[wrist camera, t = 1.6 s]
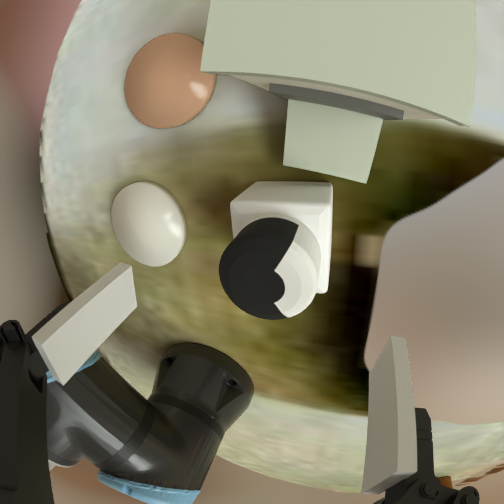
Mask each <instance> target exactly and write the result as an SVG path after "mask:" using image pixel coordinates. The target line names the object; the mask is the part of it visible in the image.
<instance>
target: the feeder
mask: <svg viewBox="0 0 504 504" xmlns="http://www.w3.org/2000/svg"><path fill="white" fill-rule="evenodd" d="M476 60H477V29H476V11H475V0H211V2H210V8H209V14H208V20H207V26H206V32H205V39H204V46H203V53H202V61H201V69H200V71H201V72H204V73H207V74H216V75H230V76H233V77H236V78H238V79H241V80H243V81H246V82H248V83H251V84H253V85H256V86H258V87H261V88H263V89H265V90H268V91H269V92H270V93H273V94H275V95H277V96H280V97H282V98H284V99H288V110H287V123H286V135H285V147H284V159H283V165H285V166H290V167H295V168H300V169H305V170H310V171H315V172H319V173H324V174H329V175H333V176H337V177H342V178H346V179H350V180H354V181H358V182H362V183H367V179H368V176H369V172H370V169H371V165H372V161H373V158H374V154H375V150H376V146H377V142H378V138H379V134H380V130H381V126H382V121H383V119H385V120H403V119H445V120H447V121H450V122H452V123H455V124H457V125H459V126H468V127H470V123H471V116H472V109H473V101H474V91H475V79H476Z"/></svg>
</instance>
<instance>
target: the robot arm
mask: <svg viewBox="0 0 504 504" xmlns="http://www.w3.org/2000/svg"><path fill="white" fill-rule="evenodd" d="M136 307H137V302H136V296H135V289H134V282H133V274H132V266H131V265H128V264H125V263H122V262H120V263H119V264H118V265H116V266H115V267H114V268H112V269H111V270H110V271H109V272H107V273H106V274H105V275H104V276H102V277H101V278H100V279H99V280H97V281H96V282H95V283H94V284H92V285H91V286H90V287H89V288H87V289H86V290H85V291H84V292H83V293H81V294H80V295H79V296H78V297H76V298H75V299H74V300H73V301H72V302H69V301H68V302H65V303H63V304H61V305H59V306H58V307H57V308H56V309H55V310H53V311H52V313H50V314H48V315H47V317H45V318H44V319H43V320H42V321H40V322H39V323H38V324H37V325H36V326H35V327H34V328H33V329H31V330H30V331H29V332H28V333H27V334H26V335H25V334H24V332H23V329H22V328H21V325H20V323H19V322H18V321H16V320H9V321H6V322H4V323H3V324H2V325H1V326H0V504H54V499H53V493H52V487H51V480H50V472H49V471H50V470H51V469H52V468H53V467H54V466H55V465H58V466H61V467H72V466H74V465H75V464H76V463H77V462H78V461H80V460H81V459H82V458H85V459H87V460H88V461H89V462H91V463H92V464H94V465H95V466H96V467H98V468H99V469H100V470H99V471H98V476H97V478H98V480H99V481H100V482H102V483H104V484H106V485H108V486H110V487H112V488H114V489H116V490H118V491H120V492H122V493H125V494H127V495H129V496H131V497H134V498H136V499H138V500H141V501H143V502H146V503H148V504H192V503H193V501H194V500H195V498H196V496H197V495H198V493H200V492H201V490H200V489H201V486H202V485H203V482H204V480H205V478H206V475H207V473H208V471H209V468H210V466H211V464H212V462H213V459H214V457H215V455H216V452H217V450H218V448H219V445H220V443H221V440H222V438H223V436H224V434H225V432H226V431H227V429H228V428H229V427H230V426H231V425H232V424H233V423H234V422H235V421H236V420H237V419H238V418H239V417H240V416H241V414H242V413H243V412H244V411H245V410H246V409H247V408H248V406H249V404H250V401H251V399H252V396H253V393H254V386H253V383H252V380H251V378H250V377H249V375H248V374H247V373H246V371H245V370H244V369H243V368H242V367H241V366H240V365H239V364H237V363H236V362H235V361H234V360H232V359H231V358H229V357H228V356H226V355H224V354H223V353H221V352H219V351H216V350H214V349H212V348H209V347H206V346H203V345H198V344H192V343H181V344H176V345H173V346H171V347H170V348H169V349H168V350H167V351H166V352H165V354H164V355H163V357H162V358H161V360H160V362H159V364H158V368H157V373H156V377H155V381H154V385H153V390H152V393H151V395H150V397H149V398H148V400H146V399H145V398H144V397H143V396H142V395H141V394H140V393H139V392H138V391H137V390H135V389H134V388H133V387H132V386H131V385H130V384H129V383H128V382H127V381H126V380H125V379H124V378H123V377H122V376H120V375H119V374H118V373H117V372H116V371H115V370H114V369H113V368H112V367H111V366H110V365H109V364H108V363H107V362H106V361H105V360H104V358H103V357H102V354H101V353H100V352H99V351H96V349H97V348H98V347H99V346H100V345H101V344H102V343H103V342H104V341H105V340H106V339H107V338H108V337H109V335H110V334H111V333H112V332H113V331H114V330H115V329H116V328H117V327H118V326H119V325H120V324H121V323H122V322H123V321H124V320H125V319H126V318H127V317H128V316H129V315H130V313H131V312H132V311H133V310H134V309H135V308H136ZM431 430H432V429H431V419H430V417H429V415H428V413H427V411H426V409H424V408H415V406H414V396H413V387H412V379H411V371H410V364H409V357H408V351H407V345H406V339H405V338H401V337H397V336H391V337H390V339H389V340H388V342H387V344H386V346H385V347H384V349H383V351H382V353H381V355H380V356H379V358H378V360H377V361H376V363H375V365H374V366H373V368H372V370H371V371H370V373H369V411H368V431H367V445H366V456H365V466H364V475H363V483H362V490H361V494H380V493H382V492H384V491H385V490H386V493H385V498H382V499H380V500H378V501H376V502H375V503H374V504H479V493H478V491H477V489H475V488H474V487H471V486H467V487H464V488H462V489H461V490H456V489H452V488H448V487H445V486H443V485H441V482H440V480H439V479H438V478H437V477H435V475H434V461H433V442H432V432H431Z"/></svg>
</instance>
